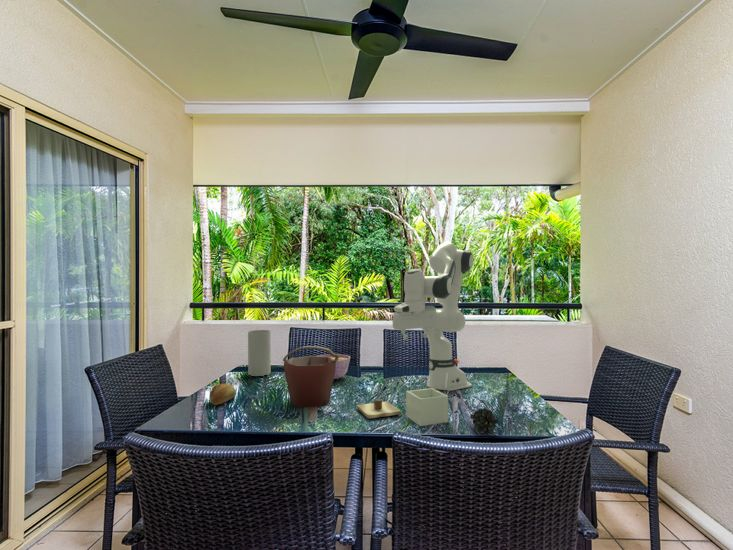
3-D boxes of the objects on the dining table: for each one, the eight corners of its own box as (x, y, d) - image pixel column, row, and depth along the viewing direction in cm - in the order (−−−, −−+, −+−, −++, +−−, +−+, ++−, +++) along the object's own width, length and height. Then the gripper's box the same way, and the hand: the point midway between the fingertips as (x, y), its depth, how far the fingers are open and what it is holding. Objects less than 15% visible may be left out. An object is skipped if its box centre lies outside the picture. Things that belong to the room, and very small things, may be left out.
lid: (387, 406, 178) (387, 393, 178) (400, 416, 165) (400, 403, 165) (356, 410, 173) (356, 397, 173) (368, 421, 160) (368, 407, 160)
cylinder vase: (267, 377, 231) (267, 332, 231) (245, 377, 231) (245, 332, 231) (272, 372, 243) (272, 329, 243) (251, 372, 243) (251, 330, 244)
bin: (432, 412, 169) (432, 388, 169) (448, 422, 157) (447, 395, 157) (406, 416, 164) (406, 391, 164) (420, 426, 153) (419, 399, 153)
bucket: (345, 398, 190) (344, 343, 190) (324, 413, 169) (324, 352, 169) (297, 393, 198) (297, 341, 198) (273, 407, 177) (272, 349, 177)
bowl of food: (357, 376, 230) (357, 356, 230) (336, 384, 213) (336, 362, 214) (329, 372, 241) (329, 352, 241) (306, 379, 224) (306, 358, 224)
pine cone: (469, 398, 157) (482, 409, 142) (489, 404, 158) (504, 417, 143) (462, 420, 157) (475, 434, 142) (482, 426, 157) (497, 441, 142)
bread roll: (203, 406, 179) (203, 388, 179) (221, 396, 194) (220, 379, 194) (224, 407, 177) (224, 389, 177) (240, 397, 192) (240, 380, 192)
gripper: (432, 304, 184) (433, 335, 184) (390, 307, 177) (391, 339, 177) (439, 305, 178) (440, 337, 178) (396, 308, 171) (397, 341, 171)
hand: (415, 338), depth 178 cm, fingers open, 8 cm apart
